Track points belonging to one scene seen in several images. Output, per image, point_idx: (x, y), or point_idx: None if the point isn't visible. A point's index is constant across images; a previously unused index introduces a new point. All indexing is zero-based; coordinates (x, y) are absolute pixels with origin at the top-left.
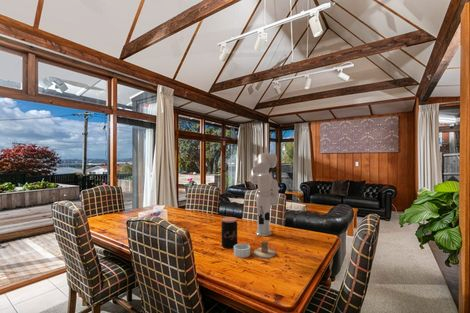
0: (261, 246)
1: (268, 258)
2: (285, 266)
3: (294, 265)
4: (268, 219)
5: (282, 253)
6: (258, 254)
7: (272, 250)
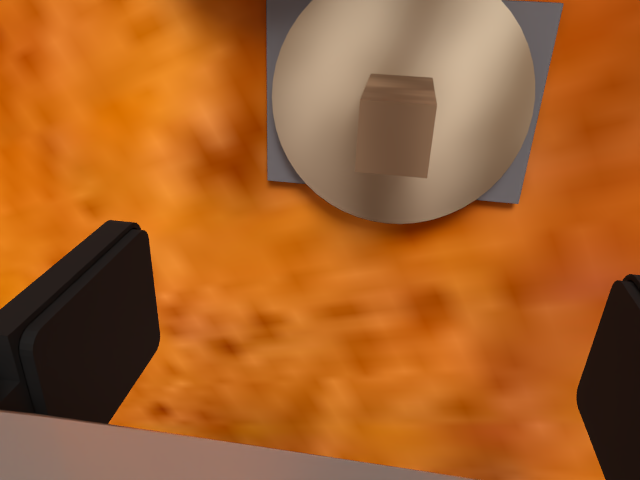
0: (365, 89)
1: (292, 175)
2: (239, 320)
3: (287, 372)
4: (588, 402)
5: (493, 263)
6: (295, 61)
7: (470, 180)
